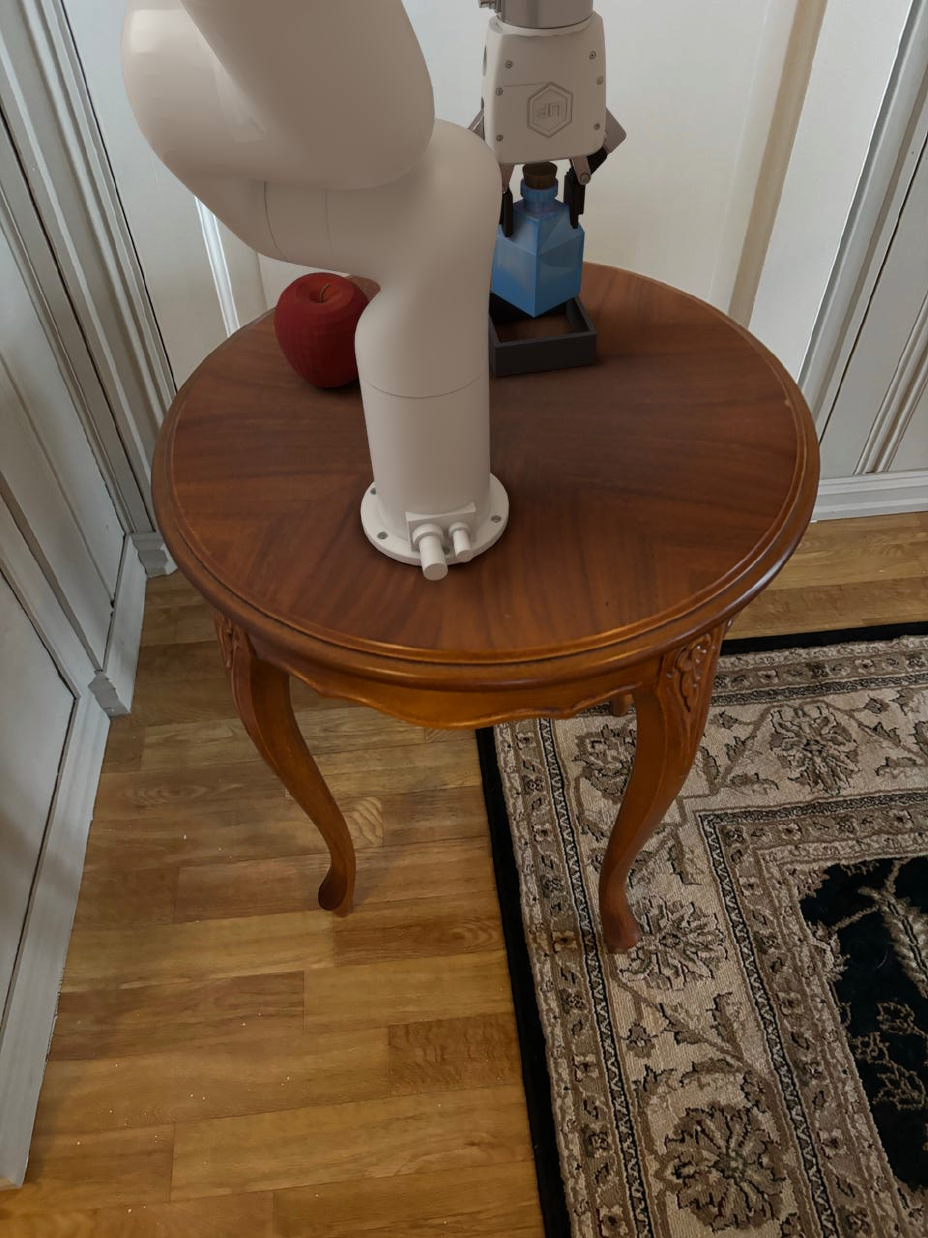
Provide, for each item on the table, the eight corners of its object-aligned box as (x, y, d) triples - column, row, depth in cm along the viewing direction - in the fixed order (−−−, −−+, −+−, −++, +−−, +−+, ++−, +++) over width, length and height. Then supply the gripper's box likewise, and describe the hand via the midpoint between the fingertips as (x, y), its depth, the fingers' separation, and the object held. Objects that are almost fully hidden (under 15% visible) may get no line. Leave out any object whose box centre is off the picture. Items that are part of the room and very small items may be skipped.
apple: (300, 415, 86) (280, 322, 78) (276, 362, 91) (255, 271, 84) (393, 390, 88) (382, 297, 80) (363, 340, 93) (351, 249, 86)
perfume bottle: (580, 293, 88) (589, 168, 78) (534, 317, 85) (537, 191, 76) (537, 269, 91) (541, 146, 81) (491, 291, 88) (490, 167, 79)
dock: (594, 364, 89) (597, 333, 87) (495, 377, 89) (495, 346, 86) (569, 309, 96) (571, 279, 93) (476, 321, 95) (475, 291, 92)
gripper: (443, 26, 66) (454, 258, 80) (667, 3, 67) (638, 234, 81) (428, -6, 70) (440, 218, 84) (637, -27, 72) (615, 196, 86)
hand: (538, 224), depth 83 cm, fingers closed on perfume bottle, 5 cm apart
